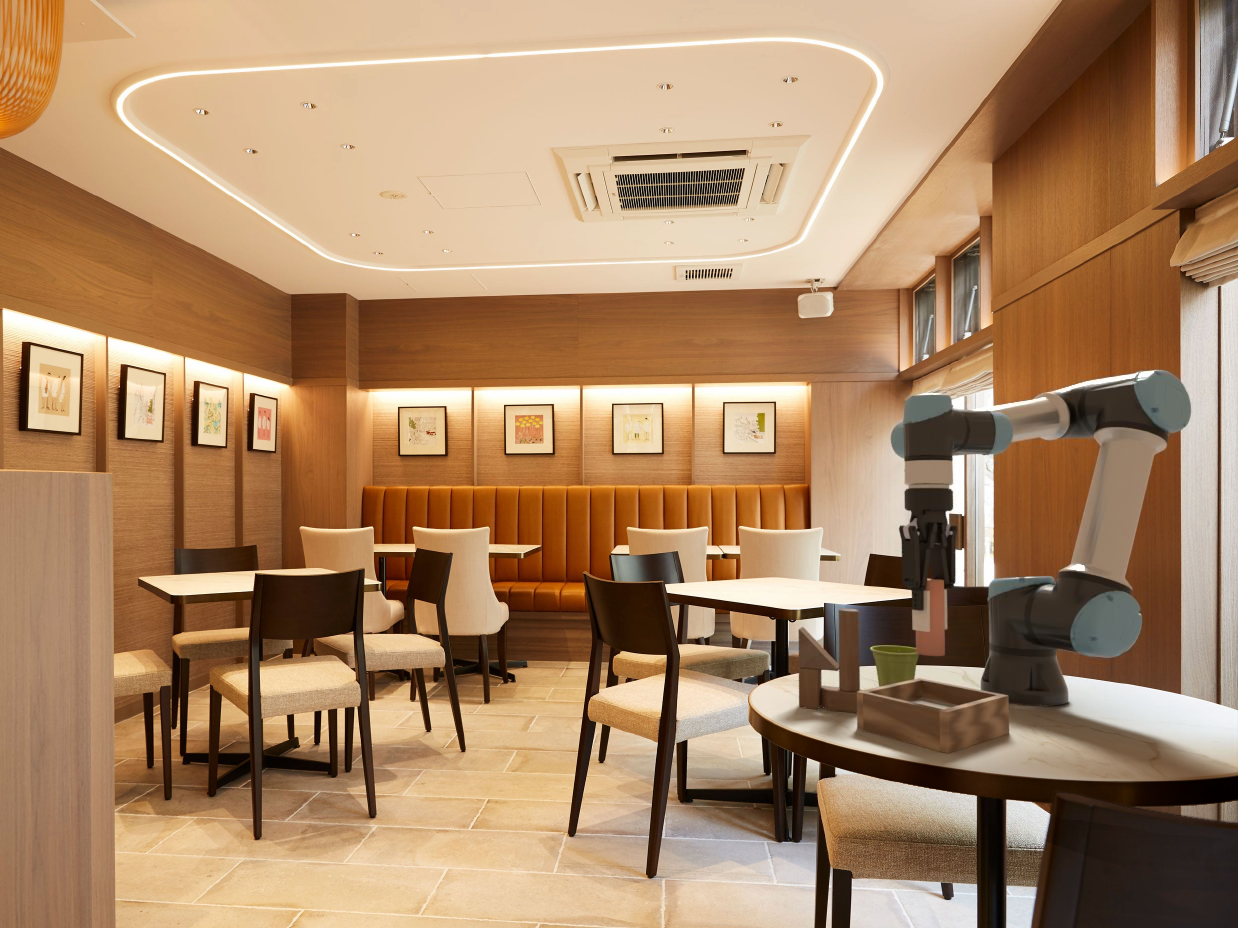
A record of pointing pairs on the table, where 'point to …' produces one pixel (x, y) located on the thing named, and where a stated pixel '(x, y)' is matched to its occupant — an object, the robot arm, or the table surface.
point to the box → (933, 714)
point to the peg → (933, 622)
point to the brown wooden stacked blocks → (831, 667)
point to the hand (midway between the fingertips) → (930, 628)
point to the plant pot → (894, 663)
